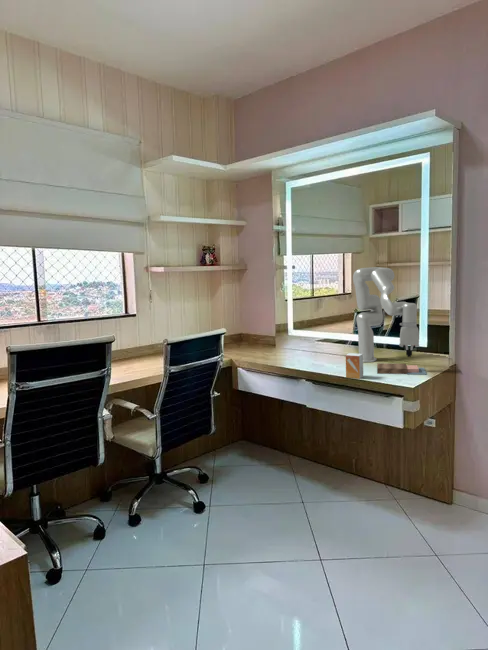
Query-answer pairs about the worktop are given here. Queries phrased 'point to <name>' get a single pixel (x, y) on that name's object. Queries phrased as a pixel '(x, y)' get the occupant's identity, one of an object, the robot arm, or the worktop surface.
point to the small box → (354, 365)
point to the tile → (412, 368)
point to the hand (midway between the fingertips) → (409, 356)
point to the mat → (421, 372)
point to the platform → (391, 368)
